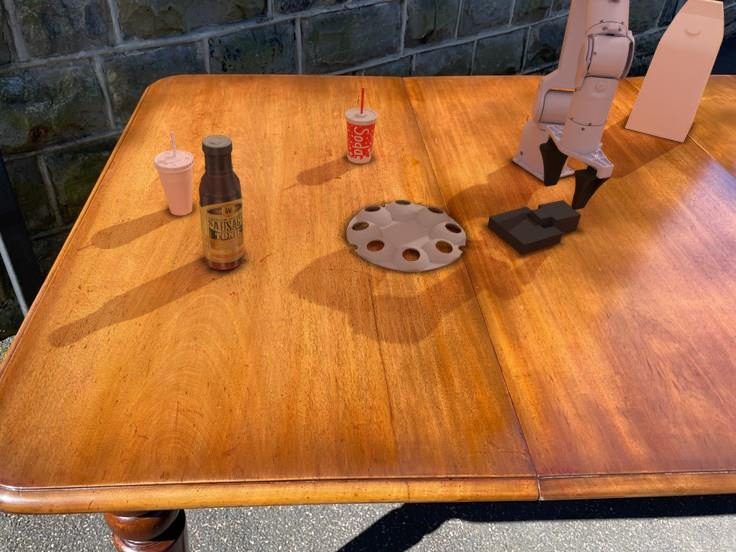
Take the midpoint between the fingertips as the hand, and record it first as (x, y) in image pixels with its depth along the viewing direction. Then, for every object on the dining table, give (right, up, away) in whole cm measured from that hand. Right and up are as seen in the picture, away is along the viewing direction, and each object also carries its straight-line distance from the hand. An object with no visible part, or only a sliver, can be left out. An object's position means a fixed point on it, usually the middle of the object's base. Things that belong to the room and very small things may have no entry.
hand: (563, 196), depth 105 cm
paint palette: (-26, -7, 0) cm, 27 cm away
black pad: (-6, -6, +1) cm, 9 cm away
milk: (+34, +21, +36) cm, 54 cm away
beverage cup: (-33, +11, +20) cm, 40 cm away
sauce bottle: (-55, -11, -7) cm, 56 cm away
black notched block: (-1, -4, +3) cm, 6 cm away
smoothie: (-64, -2, +4) cm, 64 cm away
